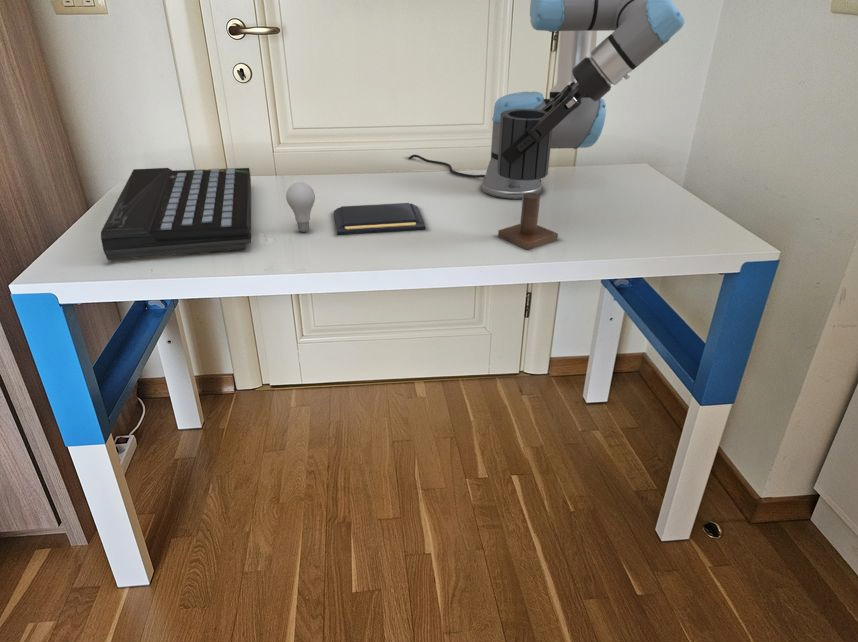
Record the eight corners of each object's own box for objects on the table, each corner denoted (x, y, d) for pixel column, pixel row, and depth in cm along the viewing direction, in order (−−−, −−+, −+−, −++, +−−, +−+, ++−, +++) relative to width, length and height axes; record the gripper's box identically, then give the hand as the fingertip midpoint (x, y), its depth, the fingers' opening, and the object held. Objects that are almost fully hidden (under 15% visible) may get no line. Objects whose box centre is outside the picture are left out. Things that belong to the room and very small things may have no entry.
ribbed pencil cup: (487, 171, 134) (490, 113, 128) (522, 163, 139) (527, 106, 133) (521, 183, 127) (526, 122, 121) (557, 174, 132) (564, 115, 126)
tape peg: (497, 236, 141) (500, 194, 136) (527, 227, 146) (531, 186, 141) (527, 249, 135) (531, 205, 130) (557, 239, 140) (562, 196, 135)
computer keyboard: (252, 253, 133) (247, 222, 130) (107, 265, 128) (98, 233, 125) (252, 186, 171) (248, 160, 167) (139, 193, 166) (133, 167, 162)
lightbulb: (295, 239, 140) (289, 189, 134) (286, 229, 145) (280, 180, 139) (322, 234, 142) (317, 184, 137) (312, 225, 147) (308, 177, 141)
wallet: (417, 199, 156) (426, 222, 143) (417, 207, 157) (425, 230, 144) (333, 203, 154) (334, 226, 141) (333, 211, 155) (335, 235, 142)
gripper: (613, 99, 111) (514, 182, 123) (612, 77, 130) (526, 151, 141) (586, 64, 110) (488, 152, 121) (589, 47, 128) (504, 124, 140)
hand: (509, 152), depth 131 cm, fingers closed on ribbed pencil cup, 10 cm apart
